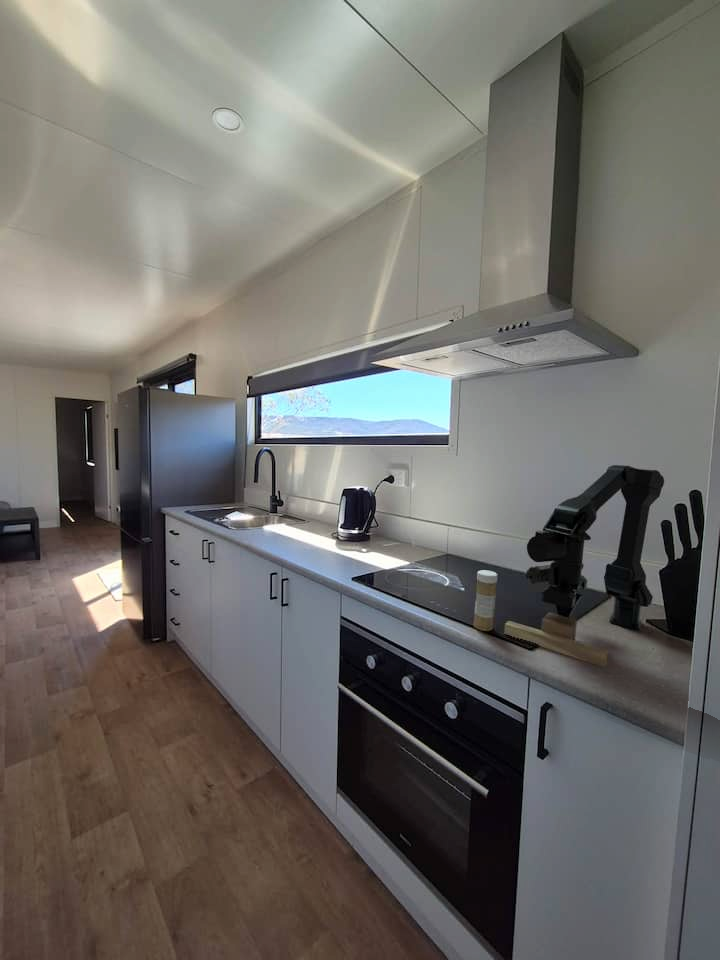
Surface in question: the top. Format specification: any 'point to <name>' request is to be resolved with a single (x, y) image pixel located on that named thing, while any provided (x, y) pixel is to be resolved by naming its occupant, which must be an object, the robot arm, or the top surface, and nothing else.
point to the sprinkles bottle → (485, 600)
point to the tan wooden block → (559, 625)
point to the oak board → (557, 643)
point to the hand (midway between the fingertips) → (562, 623)
